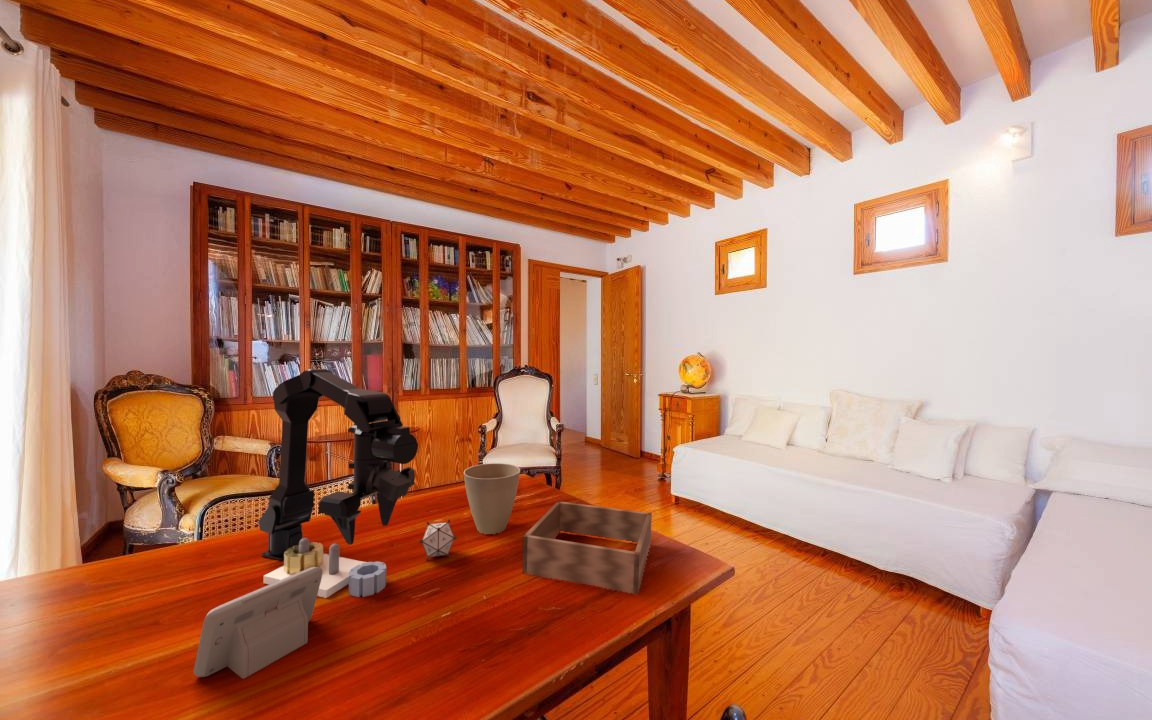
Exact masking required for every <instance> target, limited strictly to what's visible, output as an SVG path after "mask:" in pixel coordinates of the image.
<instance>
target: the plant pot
mask: <svg viewBox="0 0 1152 720" xmlns="http://www.w3.org/2000/svg"><path fill="white" fill-rule="evenodd" d="M520 475H521V468H520V467H518V466H517V465H515V464H510V463H509V464H508V463H501V462H500V463H498V462H497V463H495V462H494V463H493V462H492V463H481V464H477V465H472V466H470V467H468V468H465V469H464V471H463V480H464V485H465V486H464V487H465V491H466V497H467V501H468V505H469V508H470V512H471V515H472V518H473V521H474V523H475V527H476V529H477V532H478V531H479V532H478V533H480V534H482V533H484V534H483V535H486V534H493V535H497V534H496V533H498V534H501V533H503V532H504V531H505V530H506V528H507V525H508V522H509V521H510V518H511V514H512V511H513V508H514V504H515V500H516V496H517V492H518V486H519V481H520ZM502 531H503V532H502ZM500 532H501V533H500Z"/></svg>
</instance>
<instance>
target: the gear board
mask: <svg viewBox="0 0 1152 720" xmlns="http://www.w3.org/2000/svg"><path fill="white" fill-rule="evenodd" d="M309 542H310V540H309V538H307V537H303V539H301V540H300V542H299V554H303V553H306V552H309ZM328 551H329V552H328V553H323V563H322V564H321V565H320V566H319V567H321V569H322V579H321V583H320V587H319V590H318V594H317V597H320V598H324V599H327V598H329V597H331V596H332V595H333V594H335V593H336V592H338V591H339V590H341V589H343V588H344V587H346V586H347V585H349V571H351V569H352V568H354V567H355V566H357V565H362V563H367V561H362V560H356V559H353V558H352V559H351V558H347V557H343V556H342V557H341V556H340V545H339V544H338V543H332V544H331V545H330V546H329V550H328ZM291 575H294V574H290V573H286V572H285V571H284V565H282V566H279V567H278V568H276V569H275V570H272V571H270V572H269V573H266V574H263V582H262V583H263V584H266V585H270V584H272V583H275V582H277V581H280V580H282V579H284V578H287V577H289V576H291Z"/></svg>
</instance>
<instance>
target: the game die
mask: <svg viewBox="0 0 1152 720" xmlns="http://www.w3.org/2000/svg"><path fill="white" fill-rule="evenodd" d="M450 522H451V518H449V519H448V520H447V521H446V522H443V521H442V522H434V523H430V522H429V521H428V520H426V525H427V527H426V529H425V531H424V534H423V537H422V539H419V540H418V543H419V544H421V545H422V546H423V549H424V551H425V554H426V558H425V561H428V559H429V558H433V557H441V556H442V557H444V556H447V558H451V555H450V554H449V553H450V551H451V548H452V545H453V544H454V541H455V540H457V539H458V536H456V535H454V533H453V531H452V528H451V526H450Z"/></svg>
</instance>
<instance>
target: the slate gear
mask: <svg viewBox="0 0 1152 720" xmlns="http://www.w3.org/2000/svg"><path fill="white" fill-rule="evenodd" d="M366 562H367V561H366ZM386 586H387V565H386V563H385V562H383V561H382V562H381V561H377V560H376V561H374V562H373V561H368V562H367V563H362V565H357V566H355V567H354V568H352V569H351V571H349V584H348V595H350V596H352V597H355V598H361V596H362V598H364V597H365V598H366V597H368V596H373V595H375V593H376V594H378V593H380V592H381V591H382V590H383V589H385V588H386Z"/></svg>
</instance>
